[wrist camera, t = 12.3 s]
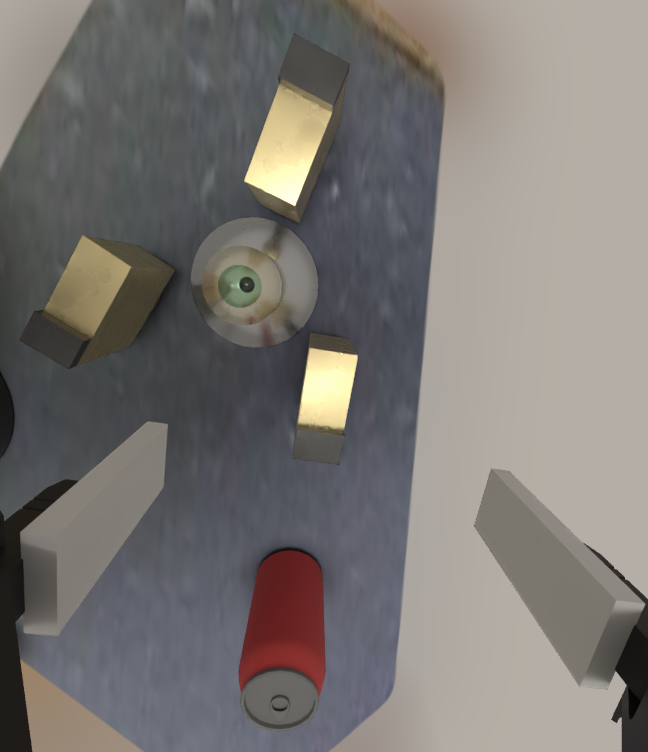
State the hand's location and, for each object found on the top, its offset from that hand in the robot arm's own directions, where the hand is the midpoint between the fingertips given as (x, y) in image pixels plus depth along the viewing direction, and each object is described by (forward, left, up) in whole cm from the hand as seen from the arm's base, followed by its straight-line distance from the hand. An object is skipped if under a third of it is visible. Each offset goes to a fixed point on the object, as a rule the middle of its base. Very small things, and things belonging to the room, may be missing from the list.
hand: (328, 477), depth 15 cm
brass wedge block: (0, 0, -16) cm, 16 cm away
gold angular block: (-15, 0, -16) cm, 22 cm away
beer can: (+6, -20, -19) cm, 28 cm away
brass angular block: (-8, +14, -16) cm, 22 cm away
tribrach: (-8, +7, -18) cm, 21 cm away
